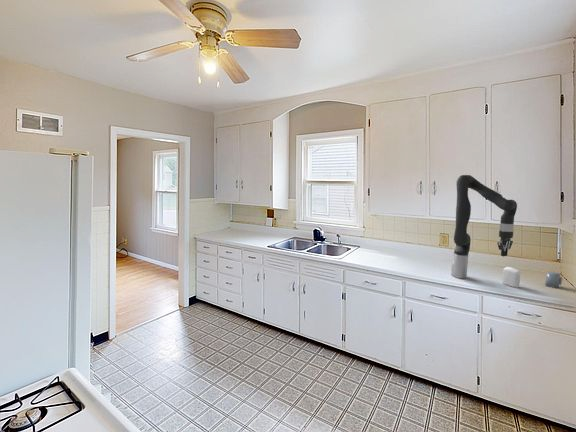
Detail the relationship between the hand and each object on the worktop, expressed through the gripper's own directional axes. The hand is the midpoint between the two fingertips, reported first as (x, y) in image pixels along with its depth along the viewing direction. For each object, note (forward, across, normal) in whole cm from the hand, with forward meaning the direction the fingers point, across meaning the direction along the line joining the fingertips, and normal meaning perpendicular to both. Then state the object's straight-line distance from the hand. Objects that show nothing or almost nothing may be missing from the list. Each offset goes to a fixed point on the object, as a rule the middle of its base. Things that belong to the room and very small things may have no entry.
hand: (504, 255), depth 199 cm
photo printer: (+22, -11, 0) cm, 25 cm away
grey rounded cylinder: (+22, -34, +13) cm, 43 cm away
